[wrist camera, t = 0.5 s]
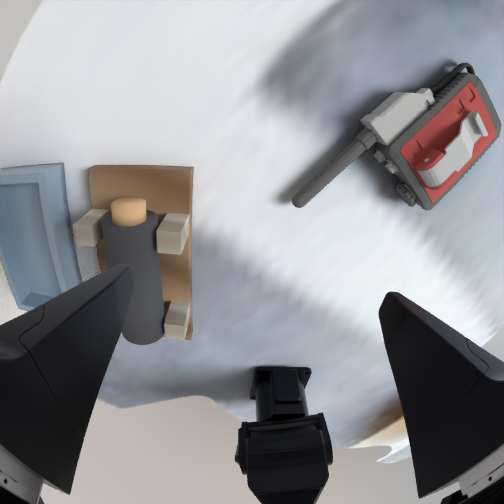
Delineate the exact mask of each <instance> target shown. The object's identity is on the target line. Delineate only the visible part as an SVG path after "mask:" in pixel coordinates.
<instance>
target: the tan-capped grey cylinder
mask: <svg viewBox="0 0 504 504" xmlns="http://www.w3.org/2000/svg"><path fill="white" fill-rule="evenodd" d="M111 212H112V213H111V214H109V215H107V216H106V217H104V218H103V220H102V221H101V226H102V234H103V241H104V248H105V254H106V261H107V266H108V269H110V268H112V267H114V266H116V265H118V264H125V265H130V266H131V268H132V274H133V284H134V290H133V295H132V298H131V301H130V304H129V308H128V311H127V315H126V318H125V322H124V325H123V329H122V334H123V336H124V338H125V339H126V340H128V341H129V342H131V343H134V344H138V345H146V344H151V343H154V342H156V341H158V340H159V339H160V338H162V336H163V335H164V334H165V327H164V323H165V313H164V303H163V293H162V281H161V268H160V253H158V252H157V233H156V230H157V229H158V216H157V214H156V213H154V212H152V211H150V210H146V200H145V199H143V198H141V197H124V198H119V199H117V200H115V201H113V202H112V203H111Z"/></svg>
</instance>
